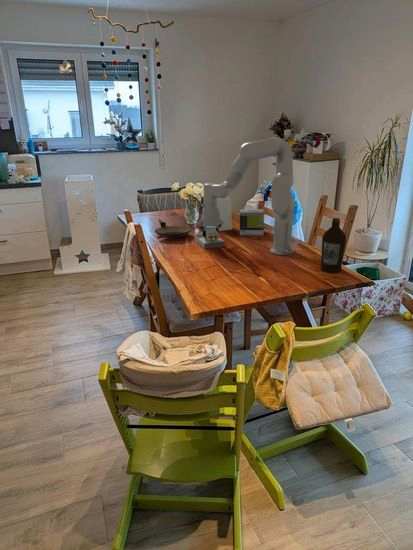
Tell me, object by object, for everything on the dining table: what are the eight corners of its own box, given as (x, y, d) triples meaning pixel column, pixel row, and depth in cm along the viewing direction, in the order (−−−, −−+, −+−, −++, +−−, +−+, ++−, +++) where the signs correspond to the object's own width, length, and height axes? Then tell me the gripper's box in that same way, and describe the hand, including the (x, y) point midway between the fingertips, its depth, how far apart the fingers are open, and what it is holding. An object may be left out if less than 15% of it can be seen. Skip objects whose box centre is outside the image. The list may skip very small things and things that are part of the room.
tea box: (263, 231, 253) (264, 208, 247) (263, 235, 244) (264, 212, 238) (239, 231, 254) (240, 208, 249) (239, 235, 245) (239, 212, 240)
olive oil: (322, 264, 195) (327, 215, 186) (344, 268, 190) (350, 217, 181) (316, 271, 186) (321, 220, 177) (339, 275, 182) (346, 222, 172)
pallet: (218, 239, 223) (218, 232, 222) (208, 240, 221) (208, 233, 220) (212, 235, 232) (212, 228, 230) (202, 236, 230) (202, 229, 229)
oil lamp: (157, 243, 231) (156, 231, 228) (153, 230, 258) (152, 219, 255) (194, 241, 235) (194, 228, 232) (186, 228, 262) (186, 217, 259)
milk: (224, 225, 269) (225, 186, 259) (231, 229, 259) (232, 189, 249) (208, 227, 265) (208, 188, 255) (215, 231, 255) (215, 191, 245)
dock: (224, 246, 224) (224, 238, 222) (204, 248, 221) (204, 240, 219) (215, 239, 237) (215, 231, 235) (196, 241, 233) (196, 233, 231)
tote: (215, 231, 223) (215, 228, 223) (208, 232, 222) (208, 228, 221) (212, 229, 229) (212, 225, 228) (205, 230, 227) (205, 226, 226)
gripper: (197, 208, 214) (198, 239, 220) (227, 205, 219) (226, 236, 226) (193, 205, 220) (194, 236, 227) (222, 203, 225) (222, 233, 232)
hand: (210, 236), depth 226 cm, fingers closed on pallet, 6 cm apart
